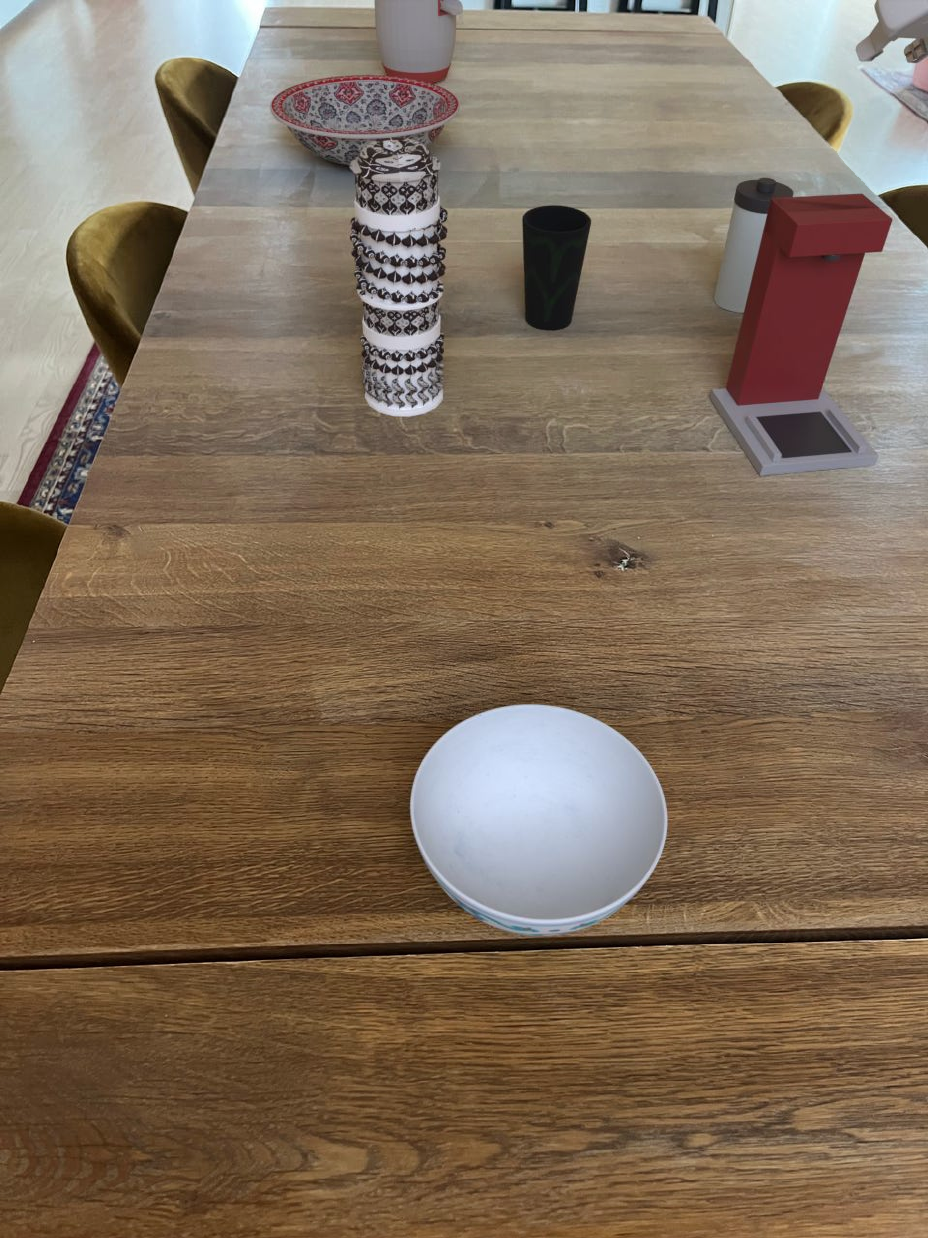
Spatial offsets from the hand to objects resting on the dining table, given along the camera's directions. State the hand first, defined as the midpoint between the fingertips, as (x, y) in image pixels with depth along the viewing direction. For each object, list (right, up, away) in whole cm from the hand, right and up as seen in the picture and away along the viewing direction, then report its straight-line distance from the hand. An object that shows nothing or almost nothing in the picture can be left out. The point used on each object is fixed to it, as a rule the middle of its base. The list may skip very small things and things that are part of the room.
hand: (885, 56), depth 97 cm
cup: (-33, -22, +16) cm, 43 cm away
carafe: (-9, -19, +20) cm, 29 cm away
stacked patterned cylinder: (-50, -34, +4) cm, 61 cm away
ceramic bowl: (-59, +16, +54) cm, 81 cm away
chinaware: (-39, -74, -37) cm, 92 cm away
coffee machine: (-10, -39, 0) cm, 40 cm away
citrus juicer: (-52, +46, +84) cm, 109 cm away
